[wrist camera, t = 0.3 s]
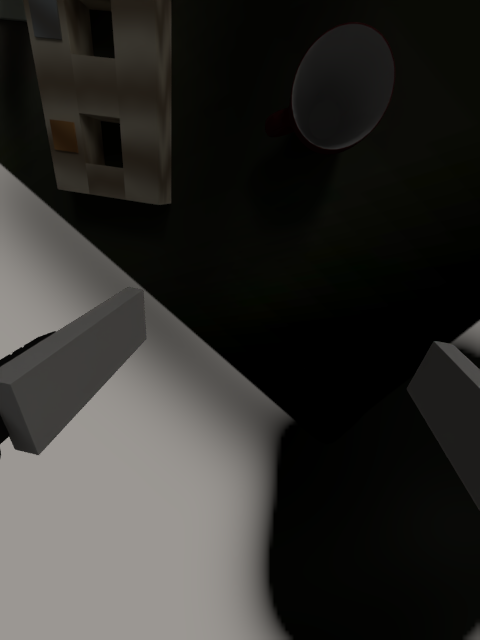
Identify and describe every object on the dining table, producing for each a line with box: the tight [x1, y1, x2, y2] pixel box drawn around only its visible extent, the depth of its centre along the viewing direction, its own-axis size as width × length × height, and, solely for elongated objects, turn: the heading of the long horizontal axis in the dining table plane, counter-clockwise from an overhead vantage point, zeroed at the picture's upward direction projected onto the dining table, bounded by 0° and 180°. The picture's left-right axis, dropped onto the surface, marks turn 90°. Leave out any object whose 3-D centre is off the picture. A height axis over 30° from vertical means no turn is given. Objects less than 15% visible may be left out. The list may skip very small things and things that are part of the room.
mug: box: [265, 22, 395, 154], centre depth 26 cm, size 10×8×10 cm
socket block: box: [23, 0, 171, 205], centre depth 30 cm, size 22×14×4 cm, turn 172°
